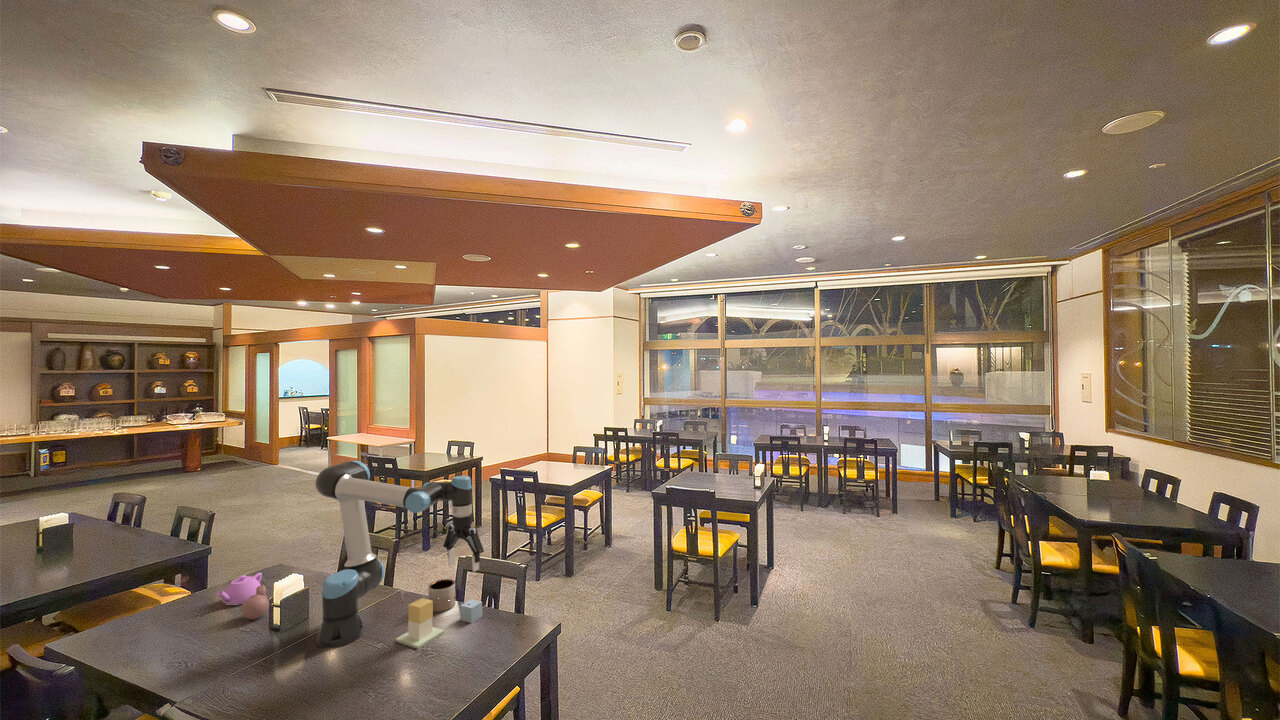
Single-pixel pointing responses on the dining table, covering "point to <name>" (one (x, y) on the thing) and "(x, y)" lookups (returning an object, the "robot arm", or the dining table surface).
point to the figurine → (256, 604)
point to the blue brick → (471, 611)
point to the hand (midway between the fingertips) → (463, 567)
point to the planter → (442, 594)
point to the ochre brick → (420, 610)
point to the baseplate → (418, 642)
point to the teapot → (240, 589)
